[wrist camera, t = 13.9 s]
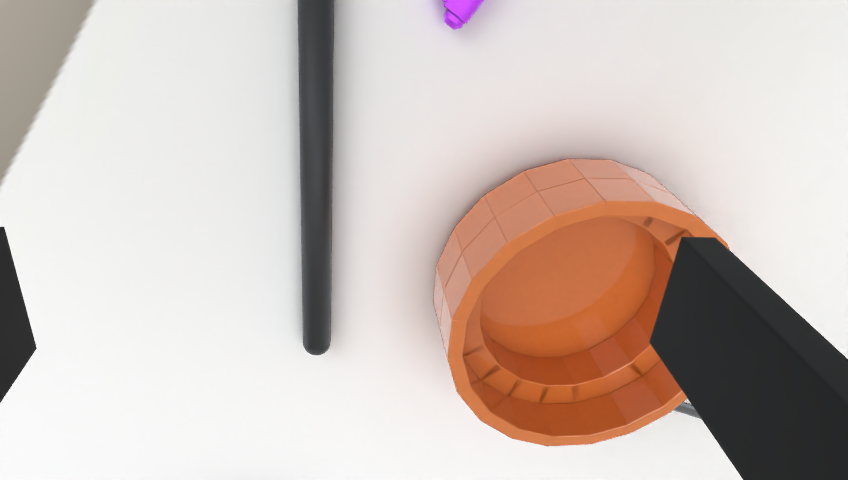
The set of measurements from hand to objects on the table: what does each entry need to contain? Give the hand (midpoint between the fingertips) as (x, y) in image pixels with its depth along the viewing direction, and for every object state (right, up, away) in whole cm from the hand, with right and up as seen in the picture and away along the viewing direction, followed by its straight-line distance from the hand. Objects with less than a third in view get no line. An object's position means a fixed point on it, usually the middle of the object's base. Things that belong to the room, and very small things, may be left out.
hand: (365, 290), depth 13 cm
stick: (-4, +4, +20) cm, 20 cm away
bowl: (+9, -1, +25) cm, 27 cm away
